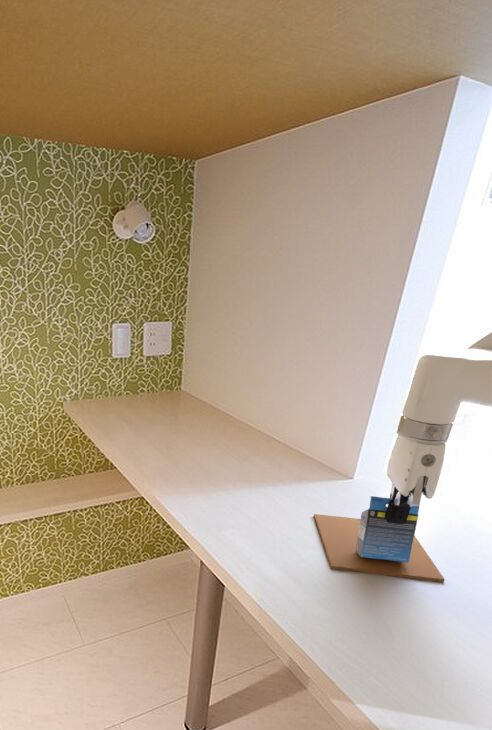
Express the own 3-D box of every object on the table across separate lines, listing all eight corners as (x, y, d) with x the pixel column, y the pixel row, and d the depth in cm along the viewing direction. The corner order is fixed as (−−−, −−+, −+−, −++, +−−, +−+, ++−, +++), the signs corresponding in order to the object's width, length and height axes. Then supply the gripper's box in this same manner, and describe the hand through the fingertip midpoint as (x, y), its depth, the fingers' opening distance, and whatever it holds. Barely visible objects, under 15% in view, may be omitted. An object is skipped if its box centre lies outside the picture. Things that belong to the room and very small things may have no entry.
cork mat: (405, 525, 99) (406, 523, 98) (443, 582, 81) (444, 579, 80) (313, 516, 102) (314, 513, 101) (331, 568, 84) (331, 565, 84)
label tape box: (401, 556, 87) (412, 497, 85) (410, 564, 83) (421, 501, 81) (354, 551, 88) (364, 492, 86) (360, 557, 84) (370, 496, 82)
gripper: (470, 446, 66) (433, 546, 74) (429, 416, 79) (401, 504, 87) (416, 442, 67) (385, 541, 75) (385, 413, 80) (362, 500, 88)
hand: (394, 521), depth 81 cm, fingers closed
